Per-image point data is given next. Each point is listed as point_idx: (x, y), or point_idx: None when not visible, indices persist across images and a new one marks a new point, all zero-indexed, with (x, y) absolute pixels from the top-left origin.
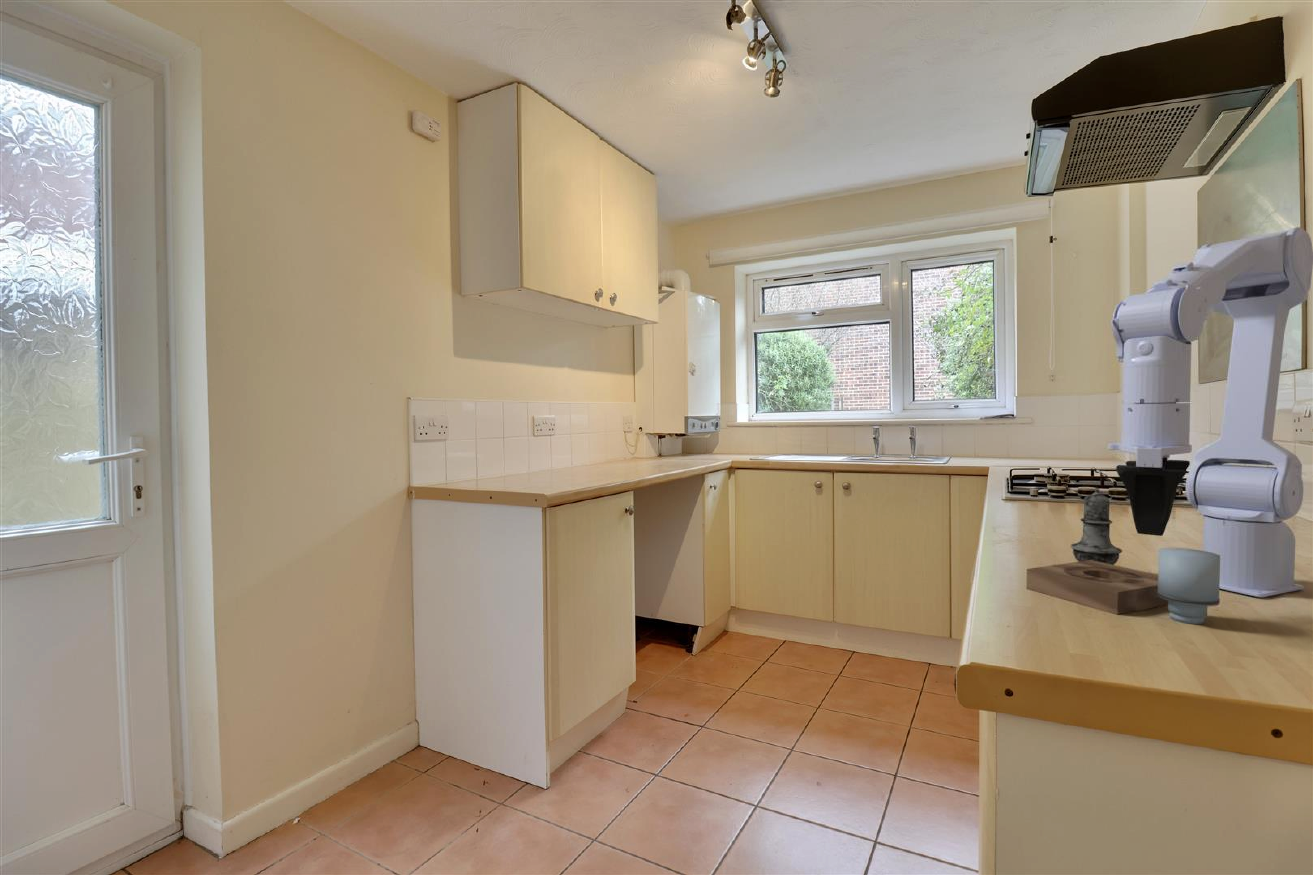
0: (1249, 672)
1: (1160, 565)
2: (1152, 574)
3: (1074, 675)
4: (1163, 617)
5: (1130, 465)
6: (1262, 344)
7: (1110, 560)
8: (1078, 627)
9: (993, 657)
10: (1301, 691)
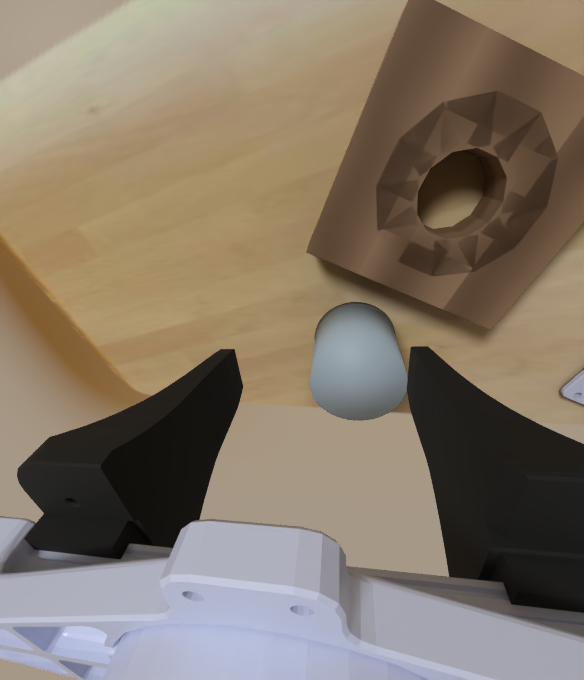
0: None
1: (336, 333)
2: (521, 279)
3: (18, 250)
4: (344, 295)
5: (118, 499)
6: None
7: None
8: (189, 209)
9: None
10: None
